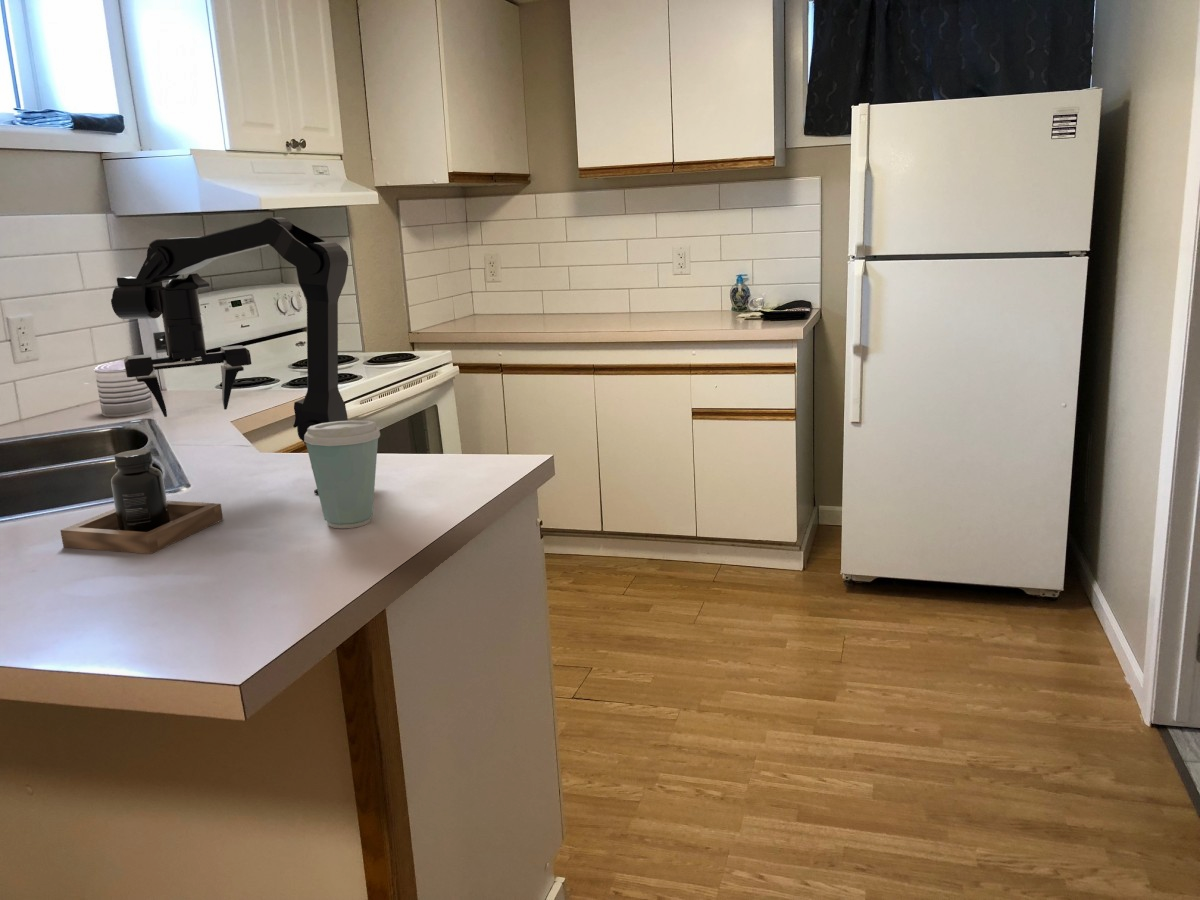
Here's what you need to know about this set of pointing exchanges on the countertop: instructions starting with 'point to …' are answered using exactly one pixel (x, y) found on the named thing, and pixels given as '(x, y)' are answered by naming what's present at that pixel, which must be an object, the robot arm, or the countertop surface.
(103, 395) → the white ridged cylinder
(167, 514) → the supplement bottle
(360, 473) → the disposable coffee cup
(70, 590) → the countertop surface
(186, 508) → the square wooden frame
